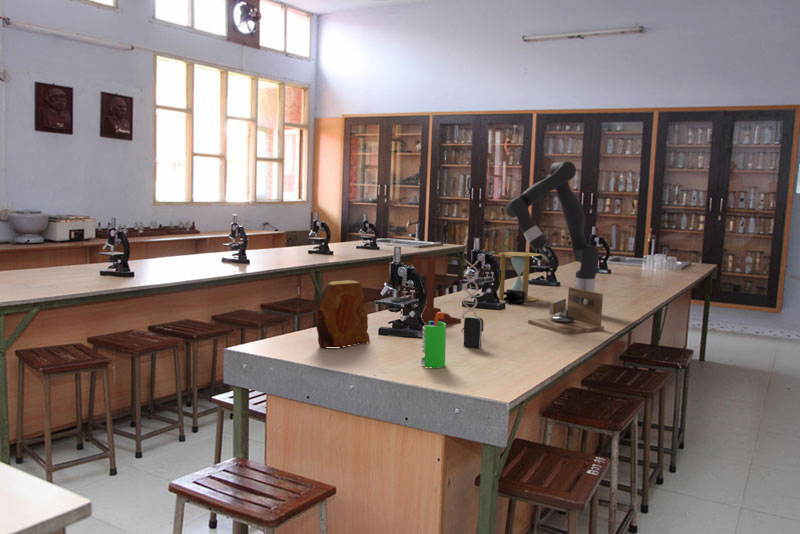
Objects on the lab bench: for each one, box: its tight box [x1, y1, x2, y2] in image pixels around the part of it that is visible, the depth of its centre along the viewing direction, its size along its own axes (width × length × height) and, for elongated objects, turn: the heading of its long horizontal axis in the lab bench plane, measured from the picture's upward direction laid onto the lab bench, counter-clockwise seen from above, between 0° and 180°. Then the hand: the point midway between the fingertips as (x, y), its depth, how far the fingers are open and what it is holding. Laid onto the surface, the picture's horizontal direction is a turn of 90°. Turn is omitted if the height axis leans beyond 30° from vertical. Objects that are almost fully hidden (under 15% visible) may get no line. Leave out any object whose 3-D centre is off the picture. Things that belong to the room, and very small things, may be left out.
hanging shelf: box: [400, 252, 462, 326], centre depth 314 cm, size 24×13×30 cm, turn 47°
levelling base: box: [527, 287, 605, 335], centre depth 307 cm, size 22×24×16 cm
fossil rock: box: [314, 279, 371, 348], centre depth 260 cm, size 24×8×24 cm, turn 128°
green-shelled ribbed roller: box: [420, 311, 447, 369], centre depth 235 cm, size 9×8×18 cm
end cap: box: [503, 289, 526, 306], centre depth 367 cm, size 10×7×7 cm
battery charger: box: [463, 315, 484, 349], centre depth 264 cm, size 7×4×11 cm, turn 55°
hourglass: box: [498, 251, 541, 303], centre depth 381 cm, size 24×22×25 cm
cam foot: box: [549, 298, 574, 323], centre depth 308 cm, size 20×10×10 cm, turn 148°
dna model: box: [461, 259, 479, 332], centre depth 289 cm, size 7×6×30 cm
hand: (555, 268), depth 318 cm, fingers open, 8 cm apart
